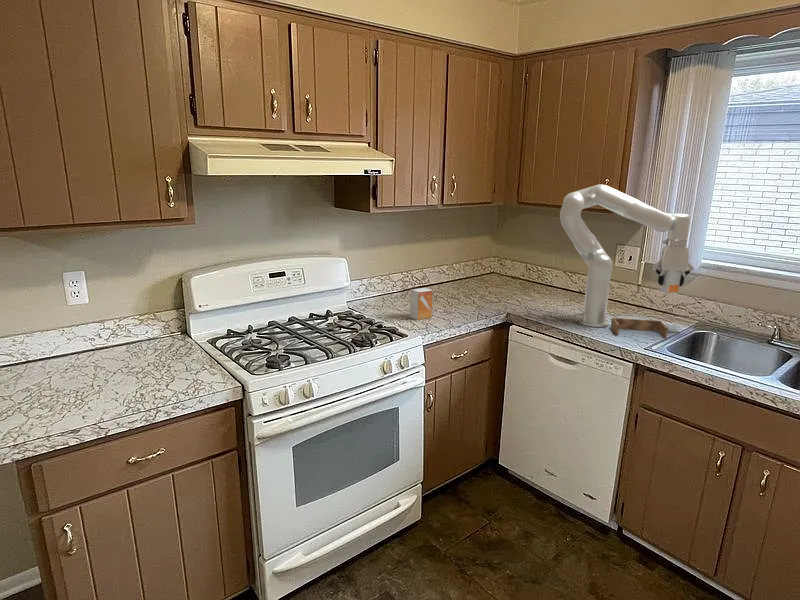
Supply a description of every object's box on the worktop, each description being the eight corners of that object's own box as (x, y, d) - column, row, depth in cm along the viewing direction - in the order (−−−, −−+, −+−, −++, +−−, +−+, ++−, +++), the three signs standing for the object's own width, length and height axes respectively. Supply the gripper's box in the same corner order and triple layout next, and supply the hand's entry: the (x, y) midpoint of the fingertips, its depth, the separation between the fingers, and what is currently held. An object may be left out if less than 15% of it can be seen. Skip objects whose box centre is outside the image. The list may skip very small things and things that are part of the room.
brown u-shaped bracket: (616, 335, 217) (617, 324, 216) (610, 327, 227) (611, 317, 226) (666, 338, 214) (668, 327, 213) (658, 330, 224) (659, 320, 223)
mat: (655, 331, 223) (655, 330, 223) (648, 325, 232) (648, 323, 232) (680, 333, 221) (680, 331, 221) (672, 326, 231) (672, 325, 231)
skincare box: (667, 294, 220) (671, 266, 217) (659, 291, 224) (663, 264, 221) (678, 293, 221) (683, 265, 219) (671, 291, 225) (675, 263, 223)
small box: (417, 320, 233) (418, 292, 230) (409, 317, 239) (410, 289, 235) (432, 317, 238) (433, 290, 235) (423, 314, 243) (424, 287, 240)
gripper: (656, 244, 215) (651, 286, 220) (702, 245, 213) (695, 288, 217) (651, 241, 223) (646, 282, 227) (695, 243, 220) (689, 284, 224)
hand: (670, 284), depth 222 cm, fingers closed on skincare box, 7 cm apart
